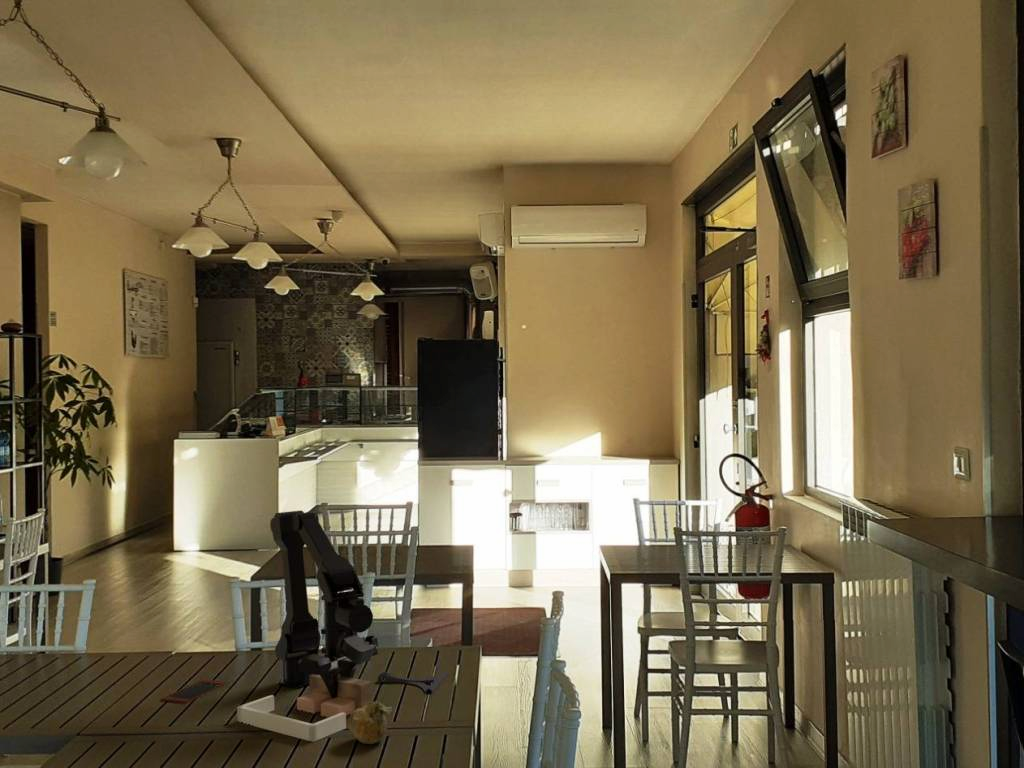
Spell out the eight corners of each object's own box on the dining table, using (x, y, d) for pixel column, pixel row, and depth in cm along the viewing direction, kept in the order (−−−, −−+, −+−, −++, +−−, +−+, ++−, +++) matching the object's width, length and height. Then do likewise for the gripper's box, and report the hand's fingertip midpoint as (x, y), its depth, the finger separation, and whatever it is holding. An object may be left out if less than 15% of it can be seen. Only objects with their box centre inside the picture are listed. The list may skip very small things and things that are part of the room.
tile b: (320, 715, 210) (320, 703, 210) (336, 708, 214) (336, 697, 214) (339, 719, 208) (339, 707, 207) (355, 712, 212) (354, 700, 212)
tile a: (297, 709, 214) (296, 698, 214) (314, 703, 218) (313, 691, 218) (314, 713, 211) (313, 701, 211) (331, 707, 216) (330, 695, 216)
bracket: (388, 675, 240) (387, 663, 240) (448, 677, 237) (448, 665, 237) (368, 694, 226) (368, 682, 226) (432, 696, 223) (432, 684, 223)
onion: (378, 731, 200) (377, 691, 200) (395, 743, 193) (394, 701, 193) (342, 739, 196) (341, 698, 196) (359, 752, 189) (358, 709, 189)
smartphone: (159, 698, 222) (203, 678, 236) (159, 702, 222) (203, 682, 236) (185, 701, 219) (228, 681, 233) (185, 706, 219) (229, 685, 233)
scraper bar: (310, 698, 219) (309, 675, 219) (320, 694, 222) (319, 671, 222) (362, 709, 211) (361, 685, 211) (371, 704, 213) (370, 681, 213)
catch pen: (237, 721, 207) (237, 707, 207) (271, 709, 215) (270, 695, 215) (313, 741, 195) (312, 726, 195) (346, 728, 202) (345, 713, 202)
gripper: (334, 638, 204) (336, 715, 204) (395, 618, 219) (397, 690, 219) (296, 631, 210) (297, 706, 210) (357, 613, 225) (359, 682, 226)
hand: (340, 696), depth 216 cm, fingers closed on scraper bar, 3 cm apart
